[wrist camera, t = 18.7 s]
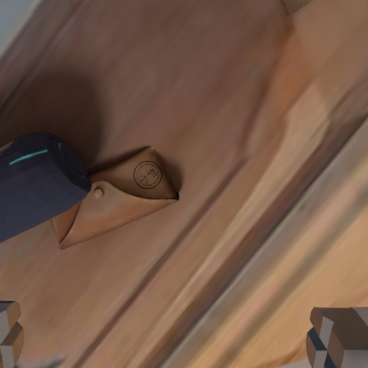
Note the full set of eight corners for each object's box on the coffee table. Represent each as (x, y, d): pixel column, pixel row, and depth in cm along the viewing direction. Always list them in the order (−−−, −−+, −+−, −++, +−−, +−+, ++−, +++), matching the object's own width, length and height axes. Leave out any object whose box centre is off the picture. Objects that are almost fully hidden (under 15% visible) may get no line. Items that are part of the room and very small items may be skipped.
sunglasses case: (153, 140, 42) (162, 174, 37) (173, 173, 47) (183, 207, 42) (34, 194, 44) (29, 233, 39) (66, 221, 49) (64, 258, 44)
